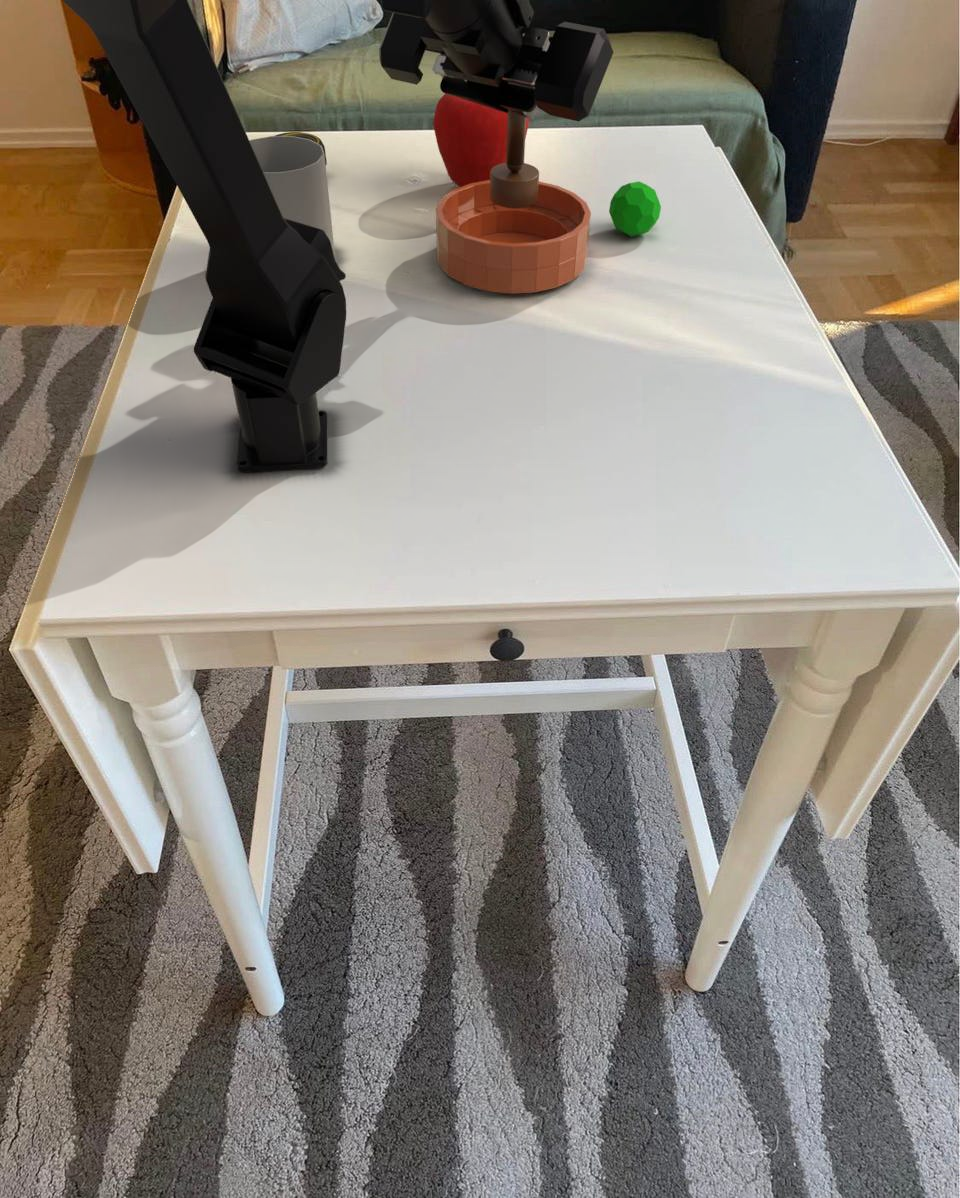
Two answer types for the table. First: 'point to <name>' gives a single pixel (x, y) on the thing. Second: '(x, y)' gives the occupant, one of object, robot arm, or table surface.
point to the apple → (470, 138)
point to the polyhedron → (635, 208)
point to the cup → (297, 179)
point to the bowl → (512, 239)
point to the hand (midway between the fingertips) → (524, 111)
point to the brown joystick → (514, 170)
